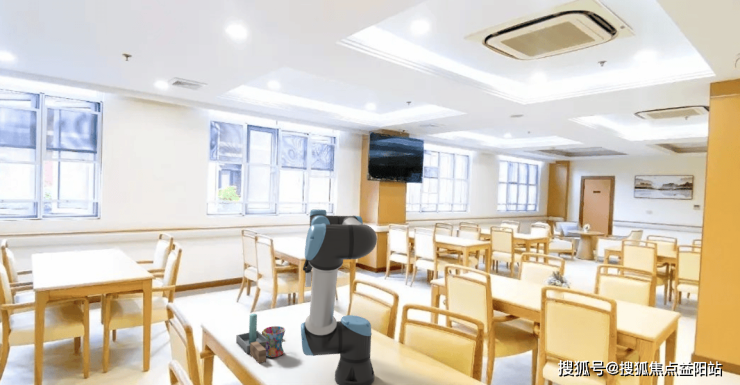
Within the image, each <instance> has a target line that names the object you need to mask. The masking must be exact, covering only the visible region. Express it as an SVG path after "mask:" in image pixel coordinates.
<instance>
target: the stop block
mask: <svg viewBox="0 0 740 385" xmlns="http://www.w3.org/2000/svg"><path fill="white" fill-rule="evenodd" d="M249 355H250V356H251V357H252V358H253V359H254V360H255V361H256V362H257V363H258V364H261V363H265V362H266V361H267V360H266V359H267V356H266V349H265V348H264V347H263V346H262V345H261V344H260V343H258V342H257V341H256V342H252V343H250V353H249Z"/></svg>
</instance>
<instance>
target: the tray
mask: <svg viewBox="0 0 740 385" xmlns="http://www.w3.org/2000/svg"><path fill="white" fill-rule="evenodd" d="M235 338H236V341H235V343H236V344H237V345H238V347H240V348H241V349H242V351H243V352H244V353H245V354H246V355H248V354H249V355H250V344H249V332H245V333H240V334H236V337H235ZM256 341H257V342H258V343H260V344H261V345H262V346H263V347H264V348H265V347H266V338H265V337H264V336H263V335H262V332H259V330H257V332H256Z"/></svg>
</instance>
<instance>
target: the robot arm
mask: <svg viewBox="0 0 740 385" xmlns="http://www.w3.org/2000/svg"><path fill="white" fill-rule="evenodd" d="M309 212H310V213H309V228H308V231H307V234H306V240H305V247H304V259H305V261H304V264H303V267H302V271H304V273H305V277H304V278H305V282H304V283H305V285H304V286H305V288H310V287H311V290H310V306H309V307H310V308H309V315H308V316H307V317H306V319H305V321H304V322H301V324H300V334H301V335H300V336H301V348H302V352H303V354H304V355H305V356H311V357H312V356H313V357H314V356H327V355H328V356H329V355H339V360H338V364H337V367H336V369H335V372H334V381H335V383H336V385H372V384H373V383H374V381H375V371H374V367H373V364H372V359H371V351H372V350H371V349H372V348H371V347H372V334H373V333H372V324H371V322H370V320H368V319H367V318H364V317H362V316H358V315H353V314H350V315H349V314H348V315H343V316H341V318H340V321H339V320H338V321H337V318H336V317H335V316H334V313H335V301H336V294H337V293H336V292H337V281H338V272H339V269H340V268H341V267H342V266H343V264H344V260H346V261H347V260H358V259H361V258H364V257H366V256H368V255H369V254H371V252H373V250H374V249H375V247H376V245H377V242H378V236H377V233H376V231H375V230H374V229H373V228H372V227H371V226H370V225H368V224H364V222H363V217H361V215H360V216H359V215H330V214H329V215H327V214H328V213H327V210H326V209H320V208H317V209H310V211H309Z"/></svg>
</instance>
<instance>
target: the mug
mask: <svg viewBox="0 0 740 385" xmlns="http://www.w3.org/2000/svg"><path fill="white" fill-rule="evenodd" d="M262 331H263V333H264V335H265V338H266V347H265V349H266V358H277V357H280V356H282V355H283V354H284V352H285V351H284V349H283V338H284V336H285V333H286V328H285V327H284V326H279V325H274V326H269V327H265V328H264V329H263V330H262Z"/></svg>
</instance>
